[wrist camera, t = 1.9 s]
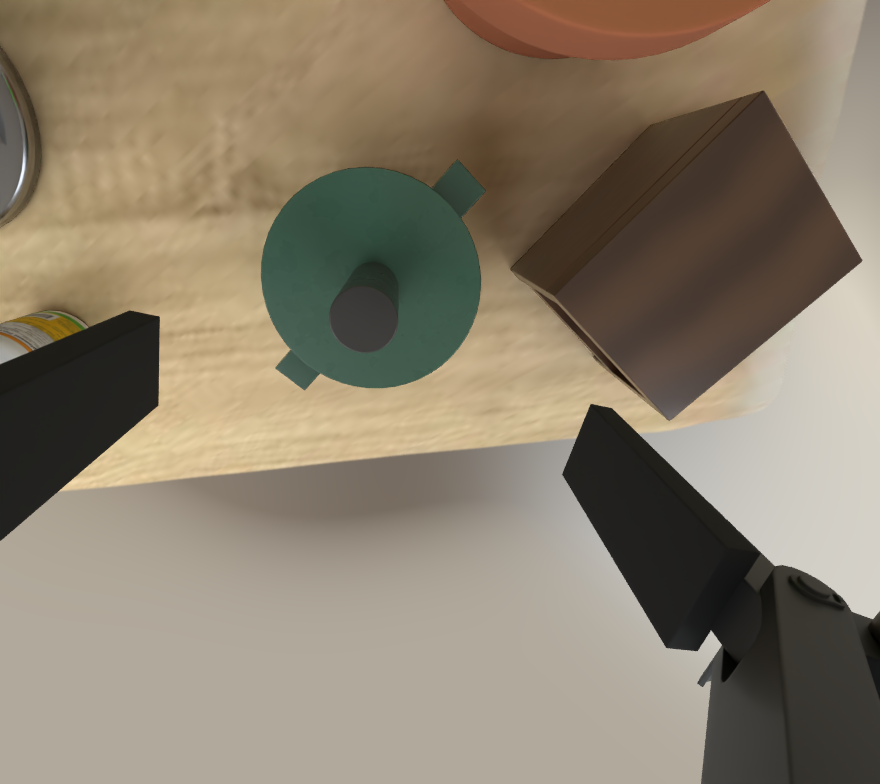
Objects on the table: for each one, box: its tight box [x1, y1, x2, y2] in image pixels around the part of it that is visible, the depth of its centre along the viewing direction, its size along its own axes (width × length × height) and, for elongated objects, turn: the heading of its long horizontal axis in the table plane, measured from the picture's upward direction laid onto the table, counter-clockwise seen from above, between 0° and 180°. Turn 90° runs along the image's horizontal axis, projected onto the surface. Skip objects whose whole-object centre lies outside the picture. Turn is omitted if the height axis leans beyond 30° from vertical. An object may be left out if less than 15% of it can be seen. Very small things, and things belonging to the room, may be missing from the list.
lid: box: [261, 167, 481, 388], centre depth 24 cm, size 13×13×9 cm
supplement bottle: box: [0, 311, 89, 364], centre depth 31 cm, size 5×5×10 cm
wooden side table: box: [511, 91, 862, 421], centre depth 31 cm, size 12×14×11 cm
